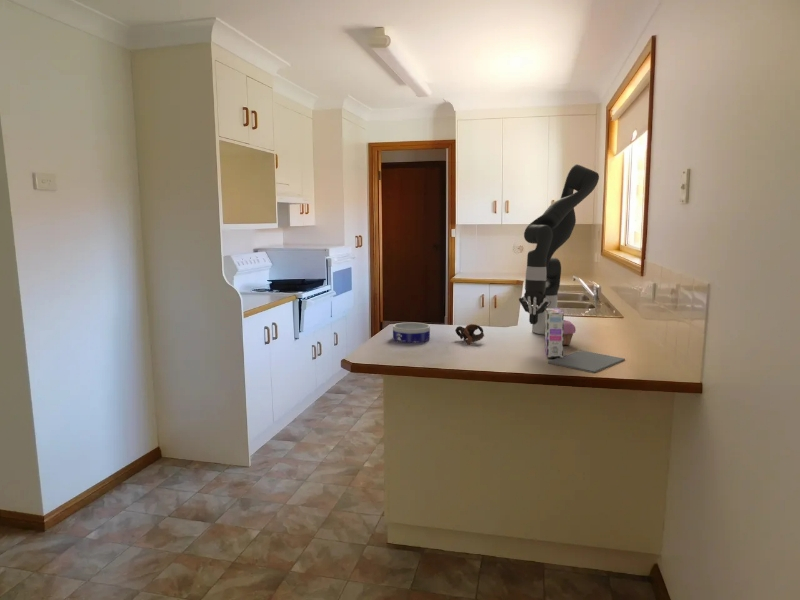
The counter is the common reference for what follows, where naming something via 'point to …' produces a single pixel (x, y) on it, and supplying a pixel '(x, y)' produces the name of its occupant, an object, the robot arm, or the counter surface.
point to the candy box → (554, 332)
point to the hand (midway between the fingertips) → (533, 323)
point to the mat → (587, 361)
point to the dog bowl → (411, 332)
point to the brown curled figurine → (470, 333)
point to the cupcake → (568, 332)
